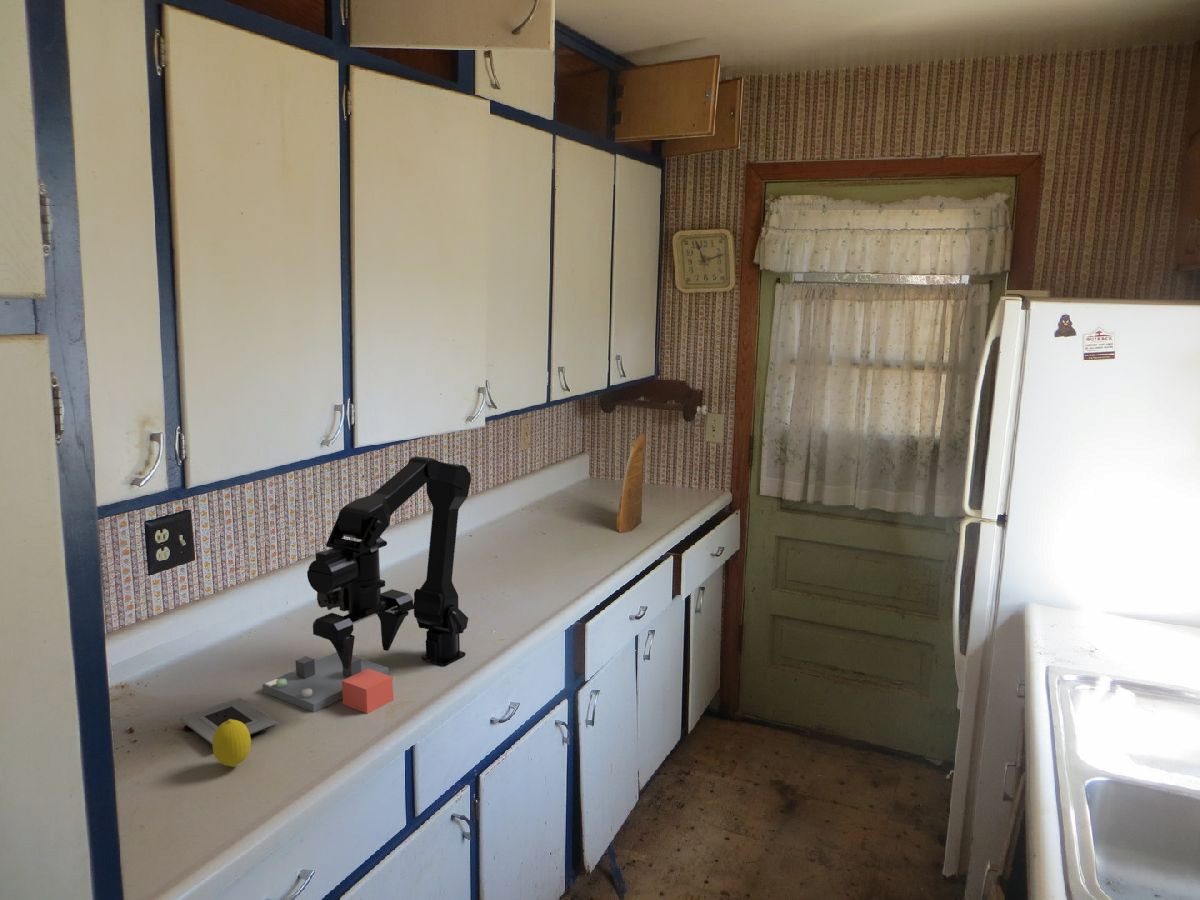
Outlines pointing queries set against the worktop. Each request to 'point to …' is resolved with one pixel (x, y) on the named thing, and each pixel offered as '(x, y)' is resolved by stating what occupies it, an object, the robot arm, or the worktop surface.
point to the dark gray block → (305, 667)
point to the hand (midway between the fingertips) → (366, 659)
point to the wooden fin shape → (632, 489)
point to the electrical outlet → (219, 714)
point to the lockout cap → (367, 690)
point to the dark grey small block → (353, 667)
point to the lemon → (231, 743)
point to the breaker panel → (316, 683)
